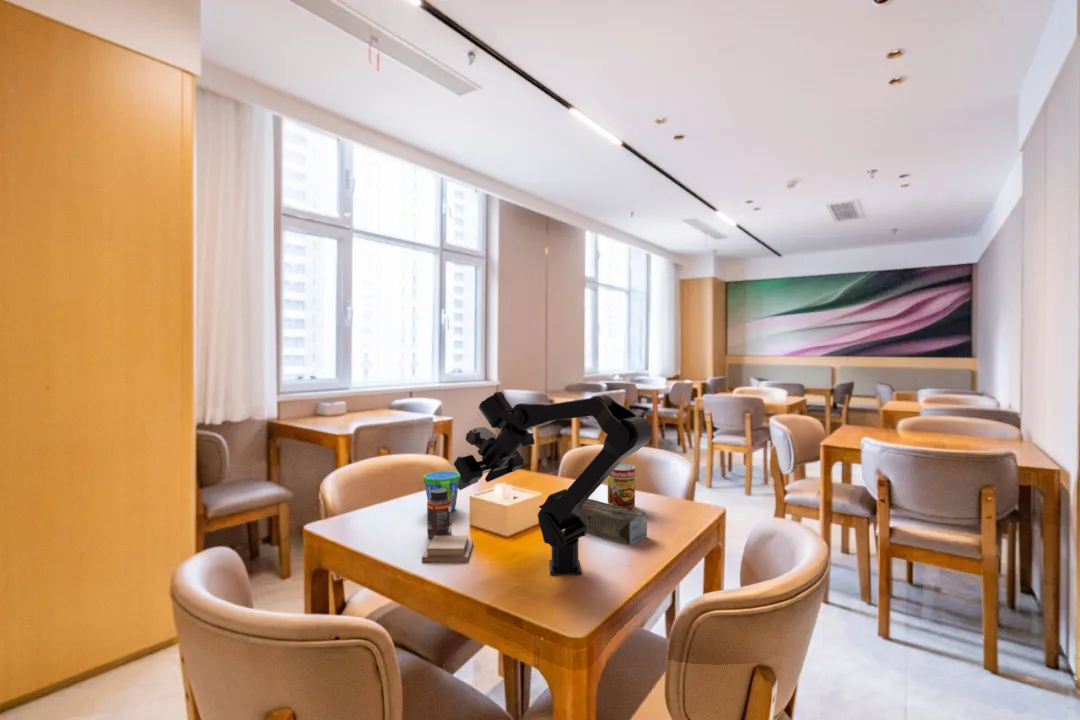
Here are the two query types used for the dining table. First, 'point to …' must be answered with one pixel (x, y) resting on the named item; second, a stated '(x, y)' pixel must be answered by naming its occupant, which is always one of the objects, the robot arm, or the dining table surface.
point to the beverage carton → (614, 521)
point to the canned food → (622, 486)
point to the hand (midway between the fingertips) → (473, 484)
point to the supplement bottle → (439, 514)
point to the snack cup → (443, 484)
